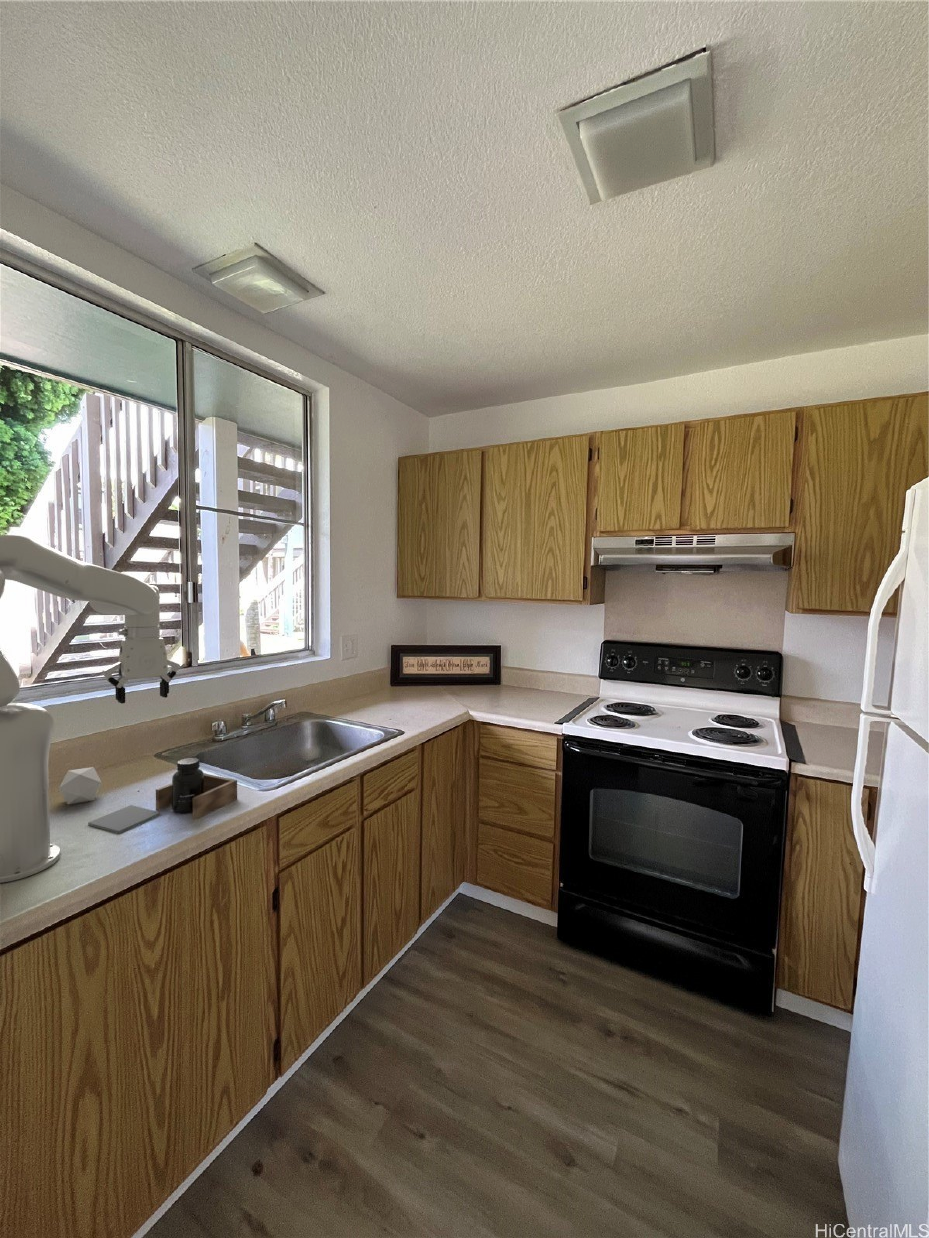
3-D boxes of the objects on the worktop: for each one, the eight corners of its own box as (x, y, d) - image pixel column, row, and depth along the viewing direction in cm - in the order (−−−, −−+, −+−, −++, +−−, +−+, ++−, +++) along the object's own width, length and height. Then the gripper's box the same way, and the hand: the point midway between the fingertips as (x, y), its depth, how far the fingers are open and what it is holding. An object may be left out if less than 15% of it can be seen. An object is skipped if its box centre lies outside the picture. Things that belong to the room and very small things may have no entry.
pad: (119, 833, 110) (119, 830, 110) (88, 825, 114) (88, 822, 114) (160, 814, 120) (160, 812, 120) (131, 807, 123) (131, 804, 123)
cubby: (196, 819, 118) (195, 798, 118) (155, 809, 122) (155, 789, 122) (237, 799, 130) (237, 780, 129) (199, 790, 134) (199, 772, 134)
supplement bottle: (182, 817, 119) (182, 767, 118) (166, 810, 122) (165, 762, 121) (209, 806, 125) (209, 759, 124) (193, 800, 128) (192, 754, 127)
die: (105, 793, 133) (81, 764, 132) (114, 785, 128) (89, 755, 127) (72, 815, 126) (46, 785, 125) (80, 807, 121) (54, 776, 120)
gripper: (107, 636, 119) (108, 707, 120) (184, 632, 133) (185, 696, 134) (97, 634, 124) (98, 702, 125) (172, 630, 138) (173, 692, 139)
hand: (143, 699), depth 129 cm, fingers open, 9 cm apart
